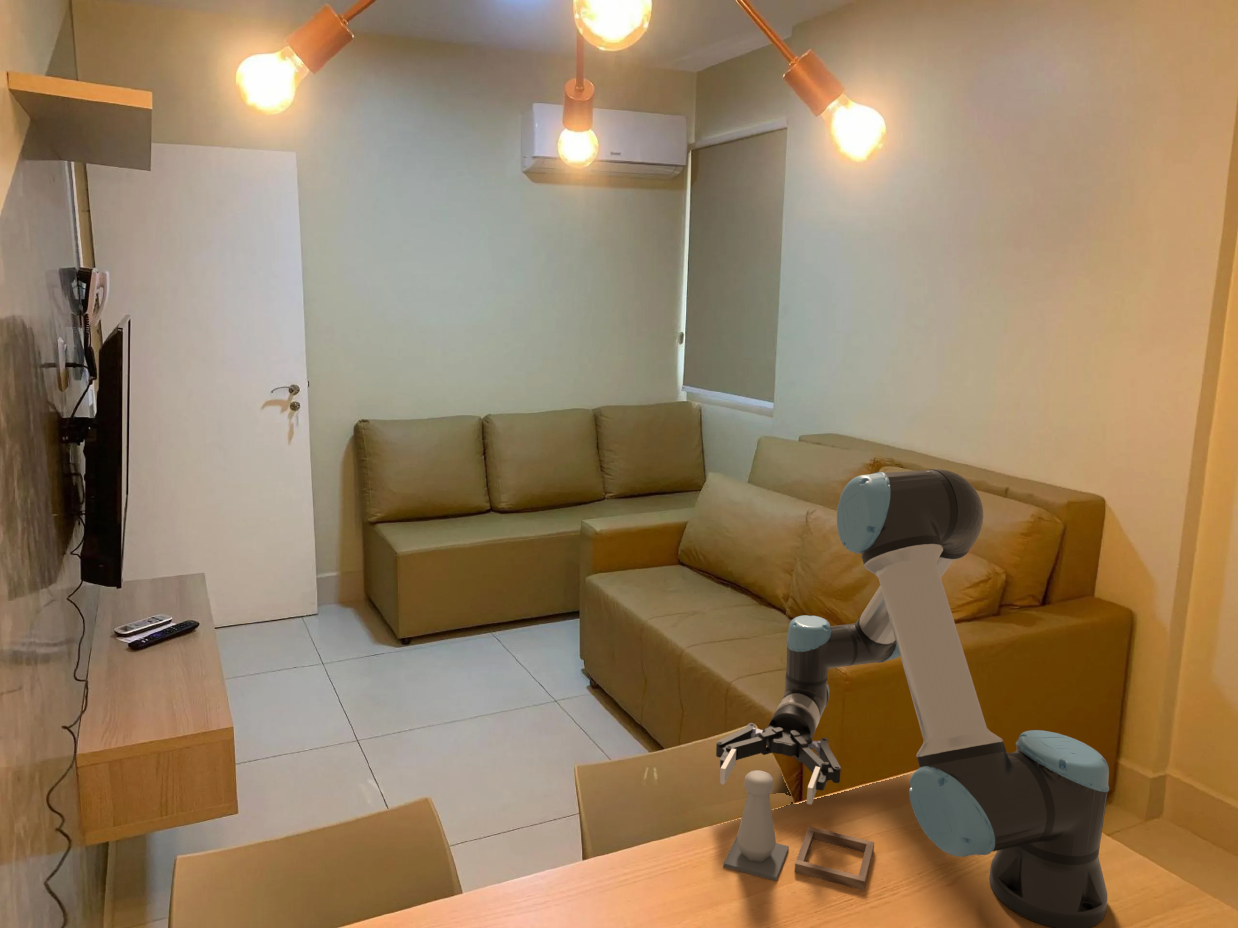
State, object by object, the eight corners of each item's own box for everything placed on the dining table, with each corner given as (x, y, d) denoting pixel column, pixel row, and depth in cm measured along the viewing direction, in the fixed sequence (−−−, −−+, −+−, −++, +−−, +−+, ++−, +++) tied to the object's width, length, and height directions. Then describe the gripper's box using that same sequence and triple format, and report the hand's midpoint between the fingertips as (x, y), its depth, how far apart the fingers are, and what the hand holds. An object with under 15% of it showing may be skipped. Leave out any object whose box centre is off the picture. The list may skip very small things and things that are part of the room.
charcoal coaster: (788, 849, 138) (788, 845, 138) (776, 880, 131) (776, 877, 131) (737, 836, 141) (738, 833, 141) (723, 866, 134) (723, 862, 134)
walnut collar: (873, 850, 138) (874, 841, 138) (864, 890, 129) (864, 881, 129) (808, 834, 142) (808, 825, 142) (794, 872, 133) (795, 863, 133)
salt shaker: (774, 867, 133) (778, 788, 130) (735, 863, 134) (738, 783, 131) (775, 843, 139) (779, 766, 136) (737, 839, 140) (740, 763, 137)
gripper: (865, 758, 154) (846, 826, 135) (724, 729, 164) (687, 789, 145) (868, 718, 153) (849, 781, 134) (725, 691, 162) (688, 746, 143)
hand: (765, 785), depth 139 cm, fingers open, 13 cm apart
